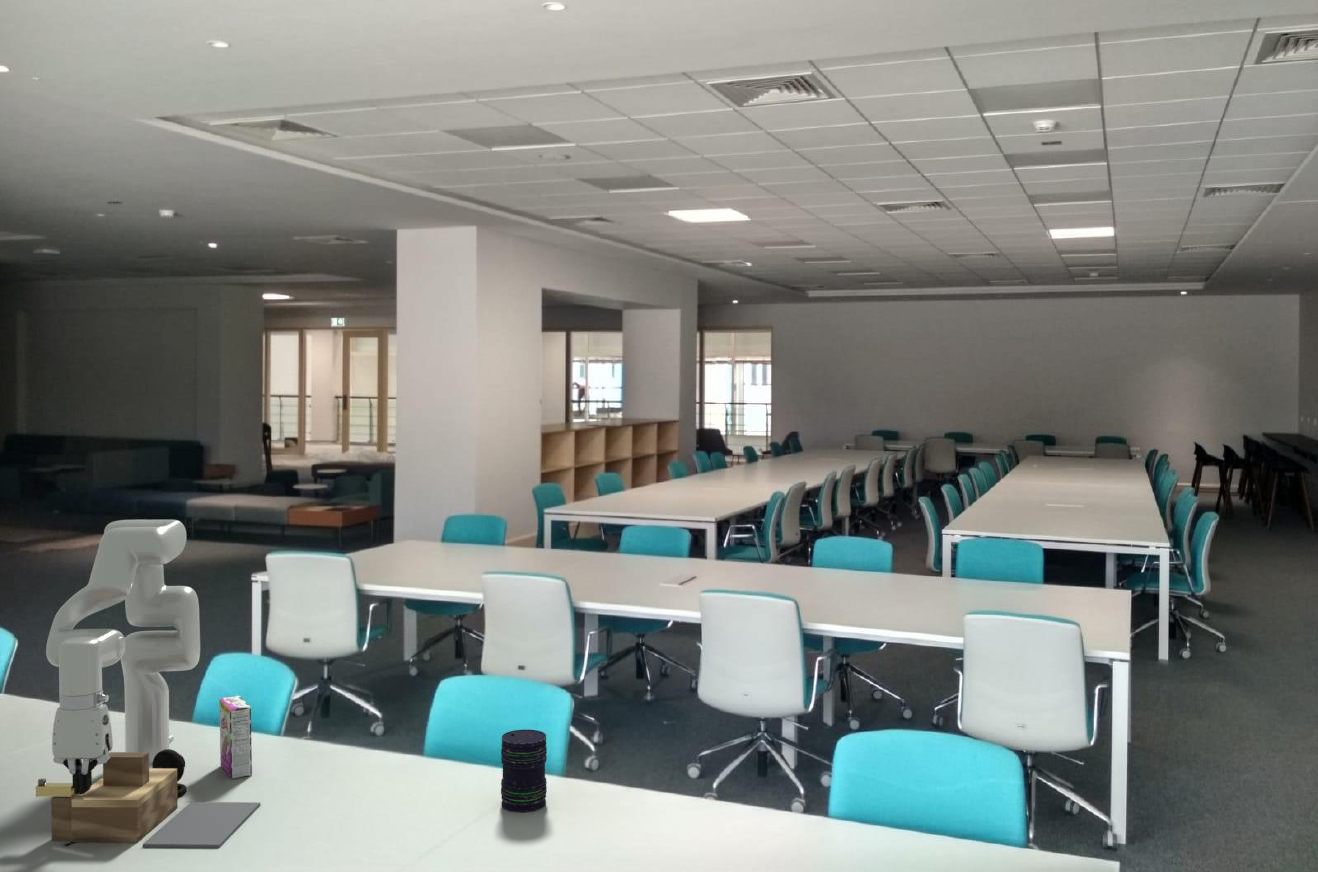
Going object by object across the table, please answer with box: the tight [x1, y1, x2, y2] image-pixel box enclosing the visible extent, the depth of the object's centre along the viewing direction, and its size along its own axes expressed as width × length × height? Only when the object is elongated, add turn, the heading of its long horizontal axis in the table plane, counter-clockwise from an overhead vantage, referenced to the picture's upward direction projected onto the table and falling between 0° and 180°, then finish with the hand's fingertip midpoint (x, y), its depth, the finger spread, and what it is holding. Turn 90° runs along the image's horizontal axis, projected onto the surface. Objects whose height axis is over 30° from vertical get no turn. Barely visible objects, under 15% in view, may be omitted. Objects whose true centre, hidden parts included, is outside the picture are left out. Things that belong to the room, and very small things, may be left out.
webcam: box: [152, 748, 188, 798], centre depth 242 cm, size 8×8×10 cm
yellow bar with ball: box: [35, 778, 74, 798], centre depth 218 cm, size 2×7×3 cm, turn 90°
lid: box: [72, 751, 177, 807], centre depth 225 cm, size 18×13×8 cm
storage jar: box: [500, 729, 548, 814], centre depth 238 cm, size 10×10×15 cm
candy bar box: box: [218, 695, 253, 780], centre depth 257 cm, size 11×5×16 cm, turn 34°
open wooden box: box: [50, 776, 179, 844], centre depth 225 cm, size 18×17×8 cm
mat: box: [142, 801, 262, 849], centre depth 225 cm, size 22×15×1 cm
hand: (82, 791), depth 218 cm, fingers closed
